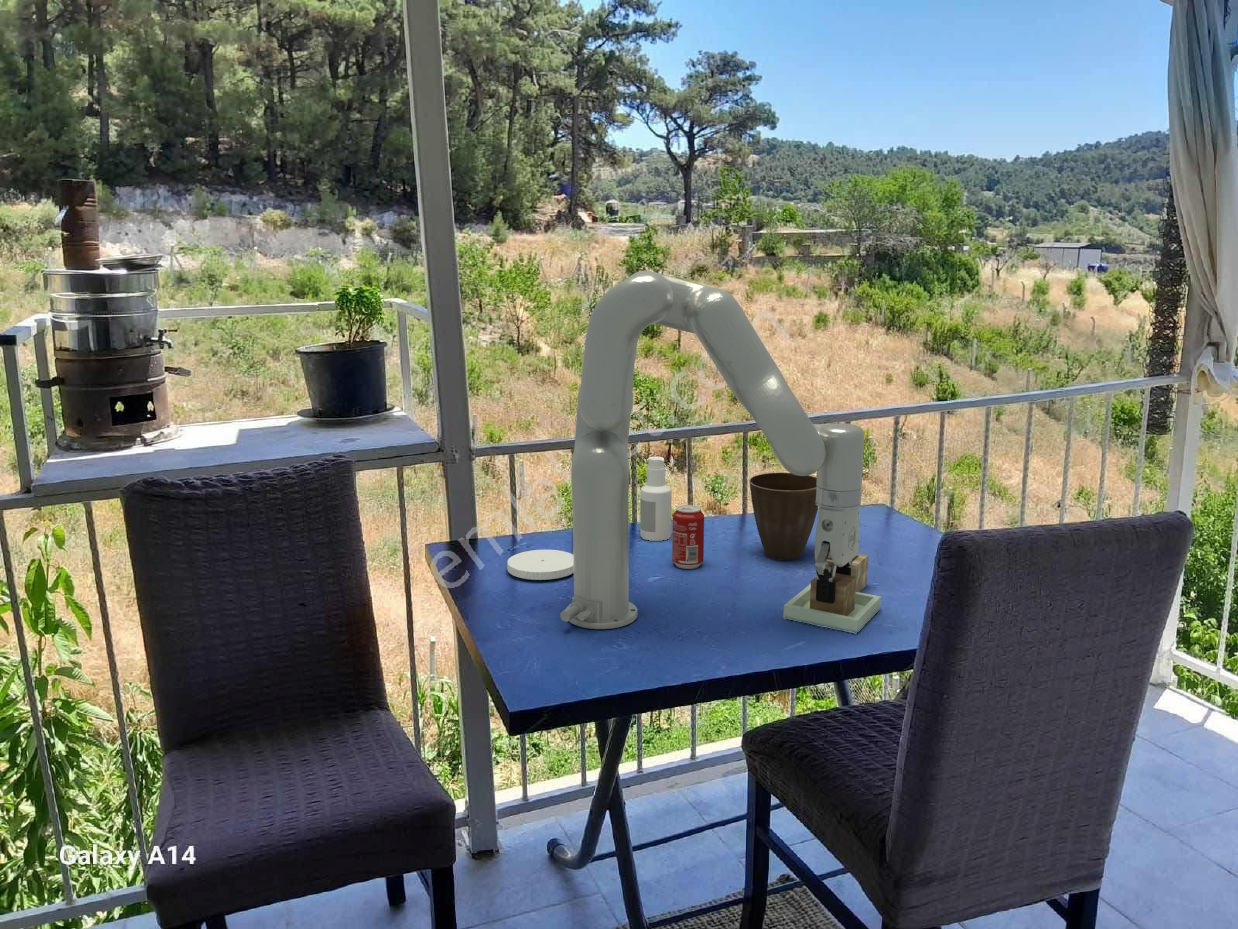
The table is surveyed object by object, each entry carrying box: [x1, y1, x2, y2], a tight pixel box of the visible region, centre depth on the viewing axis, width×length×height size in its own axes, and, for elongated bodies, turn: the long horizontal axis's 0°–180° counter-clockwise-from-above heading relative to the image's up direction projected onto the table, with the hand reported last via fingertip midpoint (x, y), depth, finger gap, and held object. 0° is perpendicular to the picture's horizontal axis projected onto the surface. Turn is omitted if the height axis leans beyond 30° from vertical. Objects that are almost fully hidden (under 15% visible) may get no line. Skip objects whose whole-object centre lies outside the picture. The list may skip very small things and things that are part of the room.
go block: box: [826, 553, 869, 593], centre depth 179 cm, size 7×7×6 cm
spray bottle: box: [639, 456, 672, 542], centre depth 209 cm, size 7×7×18 cm
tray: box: [782, 583, 882, 633], centre depth 166 cm, size 13×13×2 cm
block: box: [810, 572, 856, 616], centre depth 165 cm, size 6×6×6 cm
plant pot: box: [749, 472, 819, 561], centre depth 196 cm, size 15×15×16 cm
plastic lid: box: [506, 549, 574, 581], centre depth 189 cm, size 14×14×2 cm
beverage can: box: [671, 504, 705, 570], centre depth 191 cm, size 6×6×12 cm
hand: (833, 594), depth 165 cm, fingers open, 7 cm apart
